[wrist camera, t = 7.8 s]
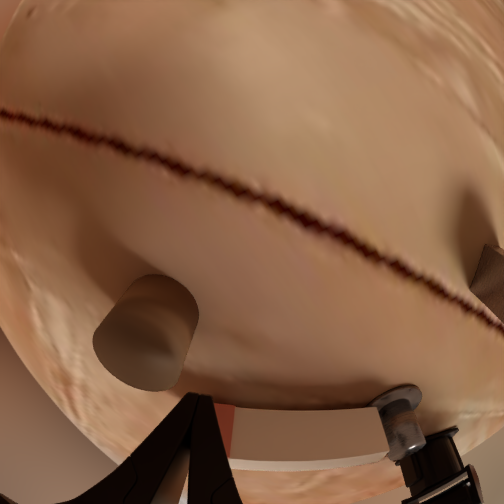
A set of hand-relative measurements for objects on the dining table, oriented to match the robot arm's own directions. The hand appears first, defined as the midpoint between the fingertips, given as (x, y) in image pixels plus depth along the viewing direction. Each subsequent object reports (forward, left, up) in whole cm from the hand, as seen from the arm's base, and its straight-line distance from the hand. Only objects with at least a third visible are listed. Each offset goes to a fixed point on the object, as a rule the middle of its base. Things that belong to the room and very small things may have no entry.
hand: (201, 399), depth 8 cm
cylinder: (+3, 0, -6) cm, 6 cm away
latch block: (-15, -4, -5) cm, 17 cm away
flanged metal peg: (-13, +8, -5) cm, 16 cm away
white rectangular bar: (-5, +8, -5) cm, 11 cm away
